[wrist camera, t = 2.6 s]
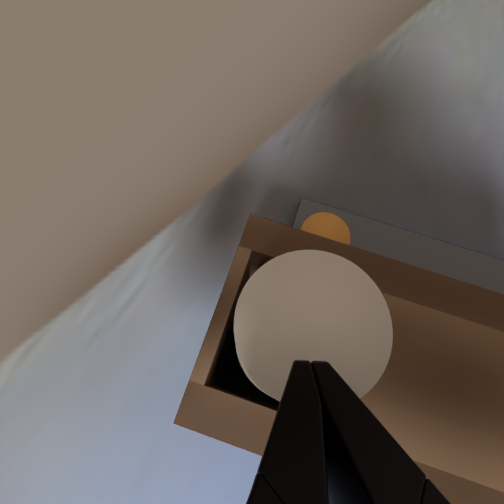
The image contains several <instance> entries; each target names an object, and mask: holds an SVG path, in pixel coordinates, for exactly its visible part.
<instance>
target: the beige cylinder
mask: <svg viewBox="0 0 504 504" xmlns="http://www.w3.org/2000/svg"><path fill="white" fill-rule="evenodd" d="M234 337H235V345H236V351H237V356H238V360H239V363H240V366H241V368H242V370H243V372H244V374H245V375H246V377H247V378H248V379H249V381H250V382H251V383H252V384H253V385H254V386H255V387H257V388H258V389H259V390H260V391H262V392H264V393H265V394H267V395H269V396H271V397H272V398H274V399H276V400H277V401H279V402H280V400H281V397H282V394H283V391H284V388H285V385H286V382H287V379H288V376H289V373H290V370H291V367H292V364H293V361H294V360H308V361H310V362H312V361H327V362H329V363H330V364H331V366H332V367H333V368H334V369H335V370H336V371H337V373H338V374H339V375H340V376H341V377H342V378H343V380H344V381H345V382H346V383H347V384H348V385H349V387H350V388H351V389H352V390H353V391H354V392H355V393H356V395H357V396H358V397H359V398H361V397H363V396H364V395H365V394H366V393H368V392H369V391H370V390H371V389H372V388H373V387H374V385H375V384H376V383H377V382H378V381H379V379H380V377H381V376H382V374H383V373H384V371H385V368H386V366H387V364H388V362H389V358H390V354H391V350H392V343H393V328H392V320H391V316H390V312H389V308H388V306H387V303H386V301H385V299H384V297H383V295H382V293H381V291H380V289H379V288H378V287H377V285H376V284H375V282H374V281H373V280H372V279H371V278H370V277H369V276H368V274H366V273H365V272H364V271H363V270H362V269H361V268H360V267H358V266H357V265H355V264H354V263H352V262H351V261H349V260H347V259H345V258H343V257H341V256H339V255H336V254H333V253H329V252H326V251H320V250H298V251H292V252H288V253H285V254H282V255H280V256H277V257H275V258H273V259H272V260H270V261H268V262H267V263H265V264H264V265H263V266H261V267H260V268H259V269H258V270H257V271H256V272H255V273H254V274H253V275H252V276H251V277H250V279H249V280H248V281H247V283H246V284H245V286H244V288H243V290H242V292H241V294H240V296H239V299H238V302H237V305H236V309H235V315H234Z"/></svg>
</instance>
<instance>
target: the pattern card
mask: <svg viewBox="0 0 504 504" xmlns="http://www.w3.org/2000/svg"><path fill="white" fill-rule="evenodd" d="M293 228H297V229H300V230H303V231H306V232H309V233H312V234H315V235H319V236H322V237H325V238H328V239H331V240H334V241H338V242H341V243H344V244H347V245H350V246H353V247H356V248H360V249H363V250H366V251H369V252H372V253H375V254H378V255H382V256H385V257H388V258H391V259H394V260H397V261H401V262H404V263H407V264H410V265H413V266H416V267H419V268H423V269H426V270H429V271H432V272H435V273H438V274H441V275H445V276H448V277H451V278H454V279H457V280H460V281H464V282H467V283H470V284H473V285H476V286H479V287H482V288H486V289H489V290H492V291H495V292H498V293H501V294H504V260H501V259H497V258H494V257H491V256H488V255H484V254H481V253H478V252H475V251H472V250H468V249H465V248H462V247H459V246H456V245H452V244H449V243H446V242H443V241H439V240H436V239H433V238H430V237H427V236H423V235H420V234H417V233H414V232H410V231H407V230H404V229H401V228H398V227H394V226H391V225H388V224H385V223H381V222H378V221H375V220H372V219H369V218H365V217H362V216H359V215H356V214H353V213H349V212H346V211H343V210H340V209H336V208H333V207H330V206H327V205H324V204H320V203H317V202H314V201H311V200H307V199H304V198H302V199H301V202H300V205H299V208H298V211H297V214H296V218H295V221H294V224H293Z"/></svg>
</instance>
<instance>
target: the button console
mask: <svg viewBox="0 0 504 504" xmlns="http://www.w3.org/2000/svg"><path fill="white" fill-rule="evenodd" d="M298 250H320V251H326V252H329V253H333V254H336V255H339V256H341V257H343V258H345V259H347V260H349V261H351V262H352V263H354V264H355V265H357V266H358V267H360V268H361V269H362V270H363V271H364V272H365V273H366V274H368V276H369V277H370V278H371V279H372V280H373V281H374V282H375V284H376V285H377V287H378V288H379V289H380V291H381V293H382V295H383V297H384V299H385V301H386V303H387V306H388V308H389V312H390V316H391V320H392V328H393V343H392V350H391V354H390V358H389V362H388V364H387V366H386V368H385V371H384V373H383V374H382V376H381V377H380V379H379V381H378V382H377V383H376V384H375V385H374V387H373V388H372V389H371V390H370V391H369V392H368V393H366V394H365V395H364V396H363V397H361V398H360V399H361V400H362V402H363V403H364V404H365V405H366V406H367V407H368V409H369V410H370V411H371V412H372V413H373V414H374V416H375V417H376V418H377V419H378V420H379V421H380V423H381V424H382V425H383V426H384V427H385V428H386V430H387V431H388V432H389V433H390V434H391V435H392V436H393V438H394V439H395V440H396V441H397V442H398V443H399V445H400V446H401V447H402V448H403V449H404V450H405V452H406V453H407V454H408V455H409V456H410V457H411V459H412V460H413V461H414V462H415V463H416V464H417V466H418V467H419V468H420V469H421V470H422V471H423V472H424V474H425V475H426V479H430V480H431V482H432V483H433V484H434V485H435V486H436V487H437V489H438V490H439V491H440V492H441V493H442V494H443V495H444V497H445V498H446V499H447V500H448V501H449V502H450V503H451V504H504V294H501V293H498V292H495V291H492V290H489V289H486V288H482V287H479V286H476V285H473V284H470V283H467V282H464V281H460V280H457V279H454V278H451V277H448V276H445V275H441V274H438V273H435V272H432V271H429V270H426V269H423V268H419V267H416V266H413V265H410V264H407V263H404V262H401V261H397V260H394V259H391V258H388V257H385V256H382V255H378V254H375V253H372V252H369V251H366V250H363V249H360V248H356V247H353V246H350V245H347V244H344V243H341V242H338V241H334V240H331V239H328V238H325V237H322V236H319V235H315V234H312V233H309V232H306V231H303V230H300V229H297V228H293V227H290V226H287V225H284V224H281V223H278V222H275V221H271V220H268V219H265V218H262V217H259V216H256V215H252V214H250V216H249V219H248V222H247V224H246V227H245V230H244V233H243V235H242V238H241V241H240V244H239V246H238V249H237V252H236V254H235V257H234V260H233V263H232V265H231V268H230V271H229V273H228V276H227V279H226V282H225V284H224V287H223V290H222V292H221V295H220V298H219V301H218V303H217V306H216V309H215V311H214V314H213V317H212V320H211V322H210V325H209V328H208V331H207V333H206V336H205V339H204V341H203V344H202V347H201V350H200V352H199V355H198V358H197V360H196V363H195V366H194V369H193V371H192V374H191V377H190V379H189V382H188V385H187V388H186V390H185V393H184V396H183V398H182V401H181V404H180V407H179V409H178V412H177V415H176V418H175V420H174V424H177V425H179V426H182V427H185V428H188V429H190V430H193V431H196V432H198V433H201V434H204V435H207V436H209V437H212V438H215V439H217V440H220V441H223V442H226V443H228V444H231V445H234V446H236V447H239V448H242V449H245V450H247V451H250V452H253V453H256V454H258V455H261V456H263V453H264V449H265V446H266V443H267V440H268V437H269V434H270V431H271V428H272V425H273V422H274V419H275V416H276V413H277V410H278V407H279V406H276V405H273V404H270V403H267V402H265V401H262V400H259V399H256V398H253V397H251V396H248V395H245V394H242V393H239V392H237V391H234V390H231V389H228V388H225V387H223V386H220V385H217V384H214V383H215V380H216V377H217V374H218V371H219V368H220V366H221V363H222V360H223V357H224V354H225V351H226V348H227V345H228V342H229V340H230V337H231V334H232V331H233V328H234V315H235V309H236V305H237V302H238V299H239V296H240V294H241V292H242V290H243V288H244V286H245V284H246V283H247V281H248V280H249V279H250V277H251V276H252V275H253V274H254V273H255V272H256V271H257V270H258V269H259V268H260V267H261V266H263V265H264V264H265V263H267V262H268V261H270V260H272V259H273V258H275V257H277V256H280V255H282V254H285V253H288V252H292V251H298Z"/></svg>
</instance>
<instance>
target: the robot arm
mask: <svg viewBox="0 0 504 504" xmlns="http://www.w3.org/2000/svg"><path fill="white" fill-rule="evenodd" d="M246 504H451V503H450V502H449V501H448V500H447V499H446V498H445V497H444V495H443V494H442V493H441V492H440V491H439V490H438V489H437V487H436V486H435V485H434V484H433V483H432V482H431V480H430V479H426V475H425V474H424V472H423V471H422V470H421V469H420V468H419V467H418V466H417V464H416V463H415V462H414V461H413V460H412V459H411V457H410V456H409V455H408V454H407V453H406V452H405V450H404V449H403V448H402V447H401V446H400V445H399V443H398V442H397V441H396V440H395V439H394V438H393V436H392V435H391V434H390V433H389V432H388V431H387V430H386V428H385V427H384V426H383V425H382V424H381V423H380V421H379V420H378V419H377V418H376V417H375V416H374V414H373V413H372V412H371V411H370V410H369V409H368V407H367V406H366V405H365V404H364V403H363V402H362V400H361V399H360V398H359V397H358V396H357V395H356V393H355V392H354V391H353V390H352V389H351V388H350V387H349V385H348V384H347V383H346V382H345V381H344V380H343V378H342V377H341V376H340V375H339V374H338V373H337V371H336V370H335V369H334V368H333V367H332V366H331V364H330V363H329V362H327V361H312V362H310V361H308V360H294V361H293V364H292V367H291V370H290V373H289V376H288V379H287V382H286V385H285V388H284V391H283V394H282V397H281V400H280V403H279V407H278V410H277V413H276V416H275V419H274V422H273V425H272V428H271V431H270V434H269V437H268V440H267V443H266V446H265V449H264V453H263V456H262V459H261V462H260V465H259V468H258V471H257V474H256V476H255V479H254V483H253V486H252V489H251V492H250V494H249V497H248V500H247V503H246Z"/></svg>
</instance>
